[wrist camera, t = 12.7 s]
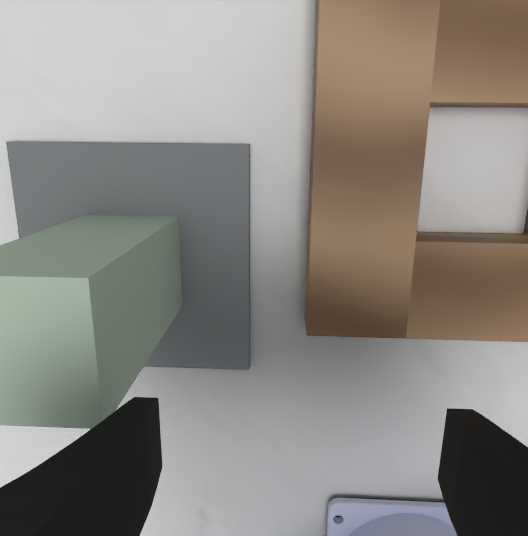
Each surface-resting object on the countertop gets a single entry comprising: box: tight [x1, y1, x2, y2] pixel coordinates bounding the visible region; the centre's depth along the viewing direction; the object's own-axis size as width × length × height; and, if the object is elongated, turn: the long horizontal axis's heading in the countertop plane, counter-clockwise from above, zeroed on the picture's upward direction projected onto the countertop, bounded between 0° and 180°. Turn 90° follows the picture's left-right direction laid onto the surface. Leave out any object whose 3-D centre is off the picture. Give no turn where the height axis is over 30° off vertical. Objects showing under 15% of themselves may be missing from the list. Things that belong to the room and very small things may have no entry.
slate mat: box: [6, 142, 250, 370], centre depth 20 cm, size 10×10×1 cm
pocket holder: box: [305, 0, 528, 342], centre depth 17 cm, size 13×13×2 cm
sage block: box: [0, 215, 182, 429], centre depth 15 cm, size 4×4×9 cm
